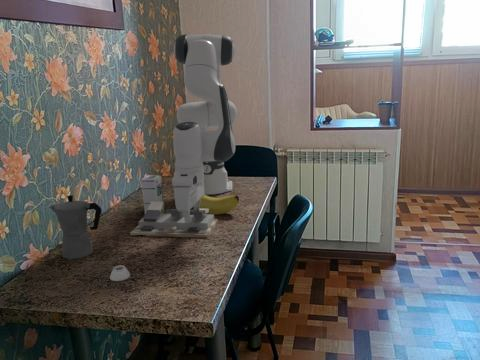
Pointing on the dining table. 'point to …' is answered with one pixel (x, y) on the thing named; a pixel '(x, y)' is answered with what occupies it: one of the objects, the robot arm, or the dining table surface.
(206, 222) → the switch housing
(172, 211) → the rocker
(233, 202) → the banana
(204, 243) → the dining table surface
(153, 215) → the block
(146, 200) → the syrup box
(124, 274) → the white cup
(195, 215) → the rocker
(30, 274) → the dining table surface
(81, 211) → the coffeepot
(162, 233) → the switch board
